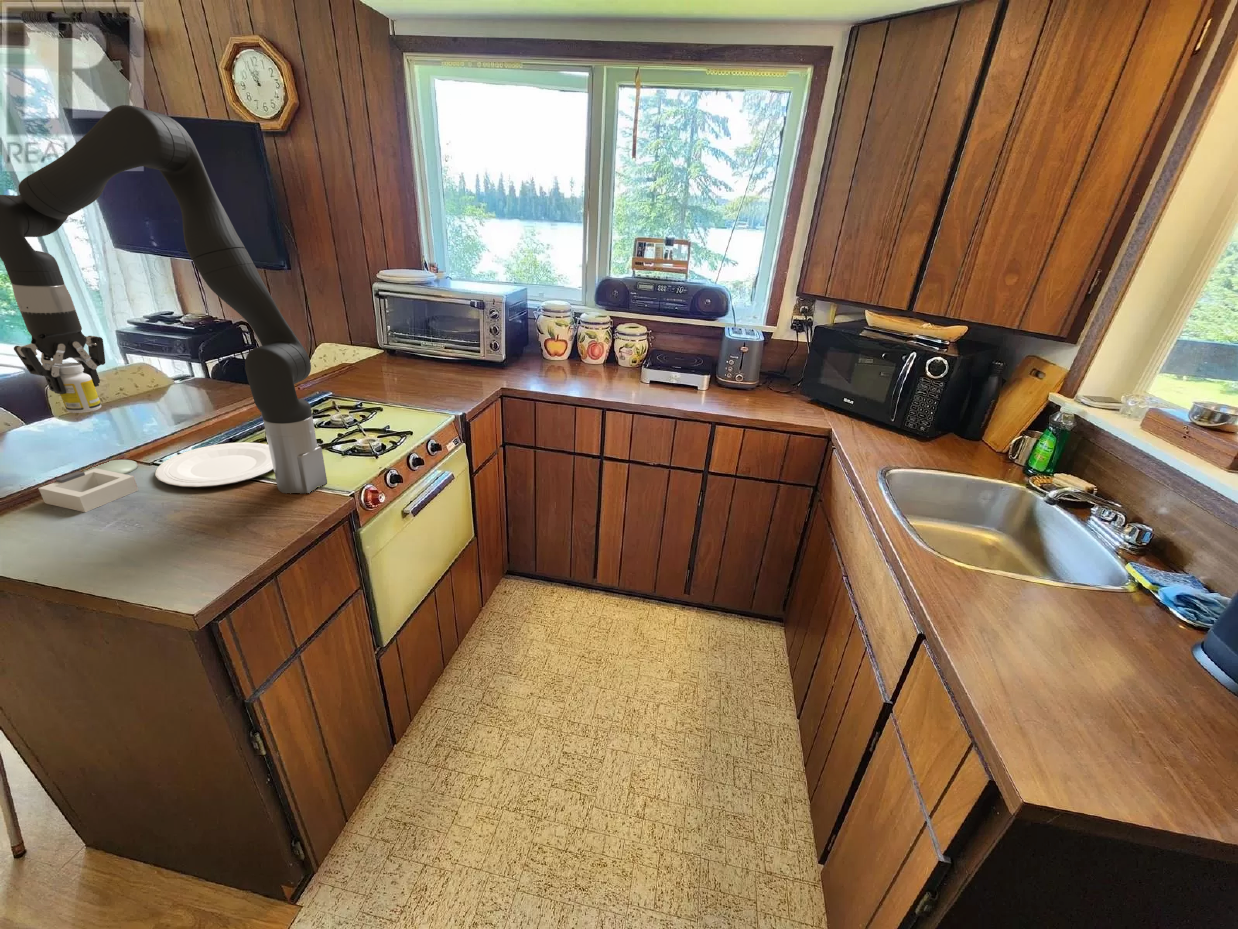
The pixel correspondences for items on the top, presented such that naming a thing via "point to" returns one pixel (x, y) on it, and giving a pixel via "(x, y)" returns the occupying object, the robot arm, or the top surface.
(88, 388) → the supplement bottle
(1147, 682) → the top surface
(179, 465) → the plate
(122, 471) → the coaster
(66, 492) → the shallow beige tray
